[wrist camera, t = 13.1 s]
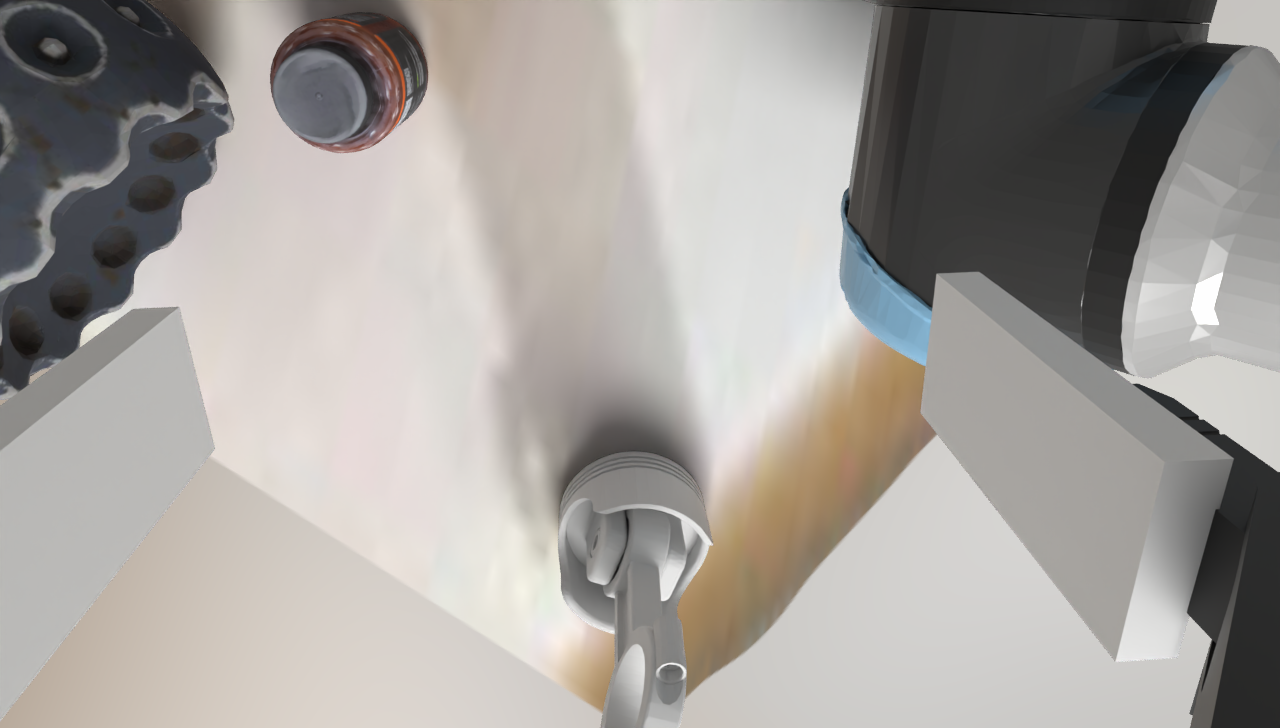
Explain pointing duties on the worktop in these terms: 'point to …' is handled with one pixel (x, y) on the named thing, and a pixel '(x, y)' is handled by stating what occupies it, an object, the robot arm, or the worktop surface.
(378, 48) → the supplement bottle
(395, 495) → the worktop surface
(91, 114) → the black thick disc
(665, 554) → the engine component
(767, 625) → the worktop surface
